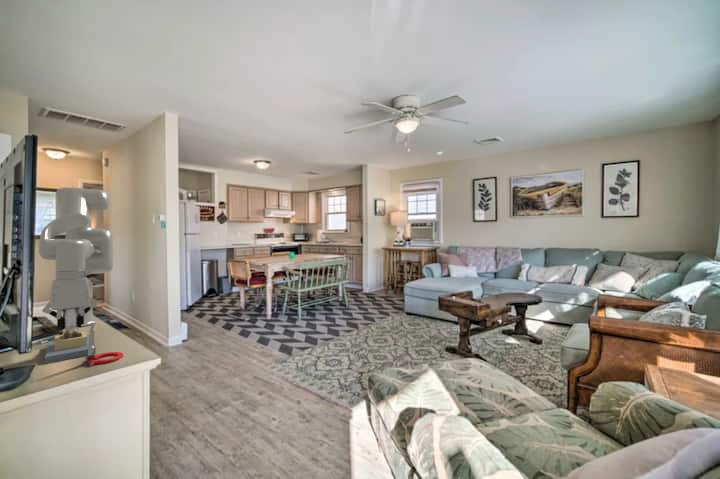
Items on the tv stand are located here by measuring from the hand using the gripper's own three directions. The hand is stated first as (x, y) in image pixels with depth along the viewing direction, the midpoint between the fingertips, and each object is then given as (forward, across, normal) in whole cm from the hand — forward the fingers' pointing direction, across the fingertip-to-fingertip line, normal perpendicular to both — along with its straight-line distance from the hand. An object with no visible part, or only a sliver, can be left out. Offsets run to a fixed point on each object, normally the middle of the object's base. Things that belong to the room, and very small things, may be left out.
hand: (70, 327), depth 107 cm
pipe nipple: (+3, 0, 0) cm, 3 cm away
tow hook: (+9, -8, +17) cm, 20 cm away
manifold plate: (+8, 0, 0) cm, 8 cm away
